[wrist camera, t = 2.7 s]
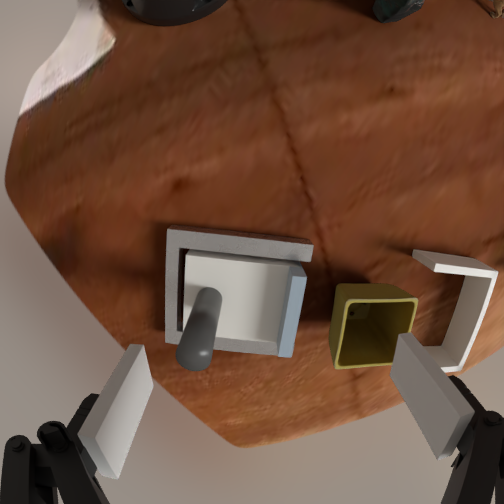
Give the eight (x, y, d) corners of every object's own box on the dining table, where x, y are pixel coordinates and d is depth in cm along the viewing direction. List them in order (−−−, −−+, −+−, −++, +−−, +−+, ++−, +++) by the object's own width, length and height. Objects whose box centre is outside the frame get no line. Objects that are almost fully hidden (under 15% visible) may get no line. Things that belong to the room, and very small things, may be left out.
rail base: (169, 332, 41) (165, 342, 39) (172, 224, 37) (167, 228, 35) (289, 346, 42) (291, 356, 39) (309, 239, 38) (313, 245, 35)
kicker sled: (187, 321, 40) (160, 394, 26) (190, 247, 37) (157, 299, 23) (286, 331, 41) (300, 408, 27) (298, 259, 38) (324, 316, 24)
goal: (383, 352, 42) (397, 375, 37) (413, 249, 38) (435, 263, 32) (443, 350, 43) (460, 370, 37) (474, 258, 38) (498, 271, 33)
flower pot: (389, 270, 39) (420, 298, 30) (377, 328, 41) (401, 364, 33) (326, 269, 39) (346, 299, 30) (318, 330, 41) (332, 369, 32)
